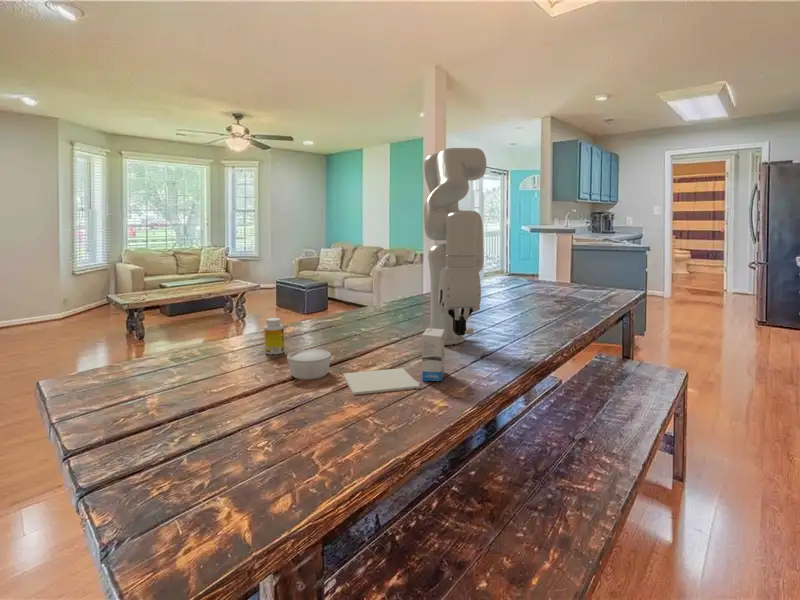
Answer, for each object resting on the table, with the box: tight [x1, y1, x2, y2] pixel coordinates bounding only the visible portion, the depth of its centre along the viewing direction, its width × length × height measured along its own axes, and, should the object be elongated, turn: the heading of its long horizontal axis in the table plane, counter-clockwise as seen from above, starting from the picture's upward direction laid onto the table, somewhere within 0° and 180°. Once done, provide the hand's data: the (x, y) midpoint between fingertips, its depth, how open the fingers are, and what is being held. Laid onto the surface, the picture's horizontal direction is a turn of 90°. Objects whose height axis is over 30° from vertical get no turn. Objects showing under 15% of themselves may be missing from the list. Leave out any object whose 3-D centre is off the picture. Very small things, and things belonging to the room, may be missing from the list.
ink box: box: [421, 327, 446, 383], centre depth 122 cm, size 9×5×12 cm, turn 168°
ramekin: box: [286, 348, 332, 381], centre depth 125 cm, size 11×11×5 cm
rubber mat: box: [342, 367, 421, 396], centre depth 119 cm, size 16×14×1 cm
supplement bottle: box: [263, 317, 285, 355], centre depth 144 cm, size 6×6×10 cm
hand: (459, 334), depth 123 cm, fingers closed
